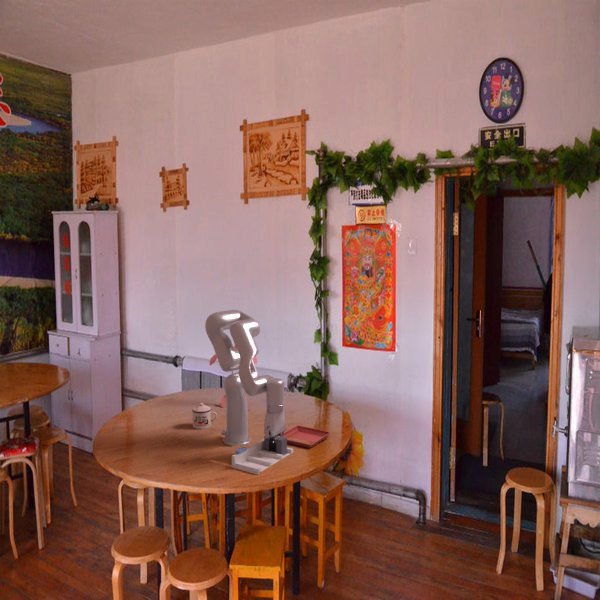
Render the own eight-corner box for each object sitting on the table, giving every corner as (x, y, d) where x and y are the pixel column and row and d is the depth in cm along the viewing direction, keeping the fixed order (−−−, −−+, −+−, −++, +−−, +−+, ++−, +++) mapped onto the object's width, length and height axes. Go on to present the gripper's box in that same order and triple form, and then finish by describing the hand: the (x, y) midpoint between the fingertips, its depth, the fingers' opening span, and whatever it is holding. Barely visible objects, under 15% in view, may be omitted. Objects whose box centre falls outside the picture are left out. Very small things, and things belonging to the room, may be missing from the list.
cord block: (264, 452, 255) (264, 436, 254) (269, 449, 259) (269, 433, 258) (281, 456, 250) (281, 440, 250) (286, 453, 254) (286, 437, 253)
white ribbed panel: (231, 467, 240) (231, 452, 240) (268, 446, 263) (268, 433, 262) (258, 474, 234) (257, 459, 233) (293, 452, 256) (293, 439, 255)
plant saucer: (311, 451, 258) (311, 444, 258) (276, 443, 268) (276, 436, 267) (330, 438, 274) (330, 432, 273) (297, 431, 283) (297, 425, 283)
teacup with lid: (191, 430, 285) (191, 406, 283) (193, 423, 294) (192, 400, 292) (216, 429, 286) (216, 405, 284) (217, 423, 295) (217, 400, 293)
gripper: (278, 401, 261) (279, 441, 263) (256, 411, 247) (256, 453, 249) (293, 404, 257) (293, 444, 259) (271, 414, 243) (271, 457, 245)
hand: (275, 448), depth 254 cm, fingers closed on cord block, 4 cm apart
